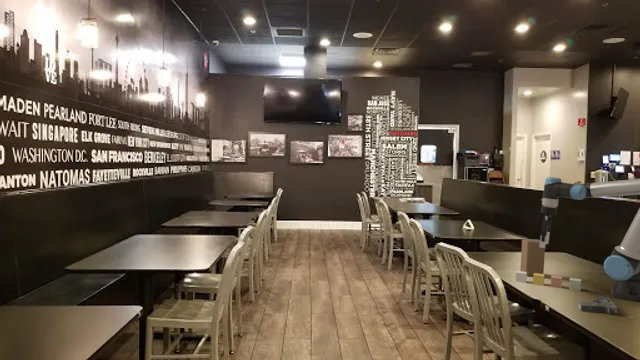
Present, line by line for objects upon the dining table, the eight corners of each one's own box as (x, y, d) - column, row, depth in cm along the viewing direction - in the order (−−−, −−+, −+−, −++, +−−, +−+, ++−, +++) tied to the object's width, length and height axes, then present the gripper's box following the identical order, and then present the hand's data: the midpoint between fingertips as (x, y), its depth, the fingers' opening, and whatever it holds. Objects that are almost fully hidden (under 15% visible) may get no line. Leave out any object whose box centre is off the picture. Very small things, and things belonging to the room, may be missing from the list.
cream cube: (526, 281, 248) (526, 272, 247) (525, 283, 243) (526, 273, 243) (516, 279, 250) (516, 270, 250) (515, 281, 246) (516, 272, 245)
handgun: (572, 300, 216) (609, 304, 211) (580, 312, 197) (621, 317, 192) (573, 292, 216) (609, 295, 211) (581, 304, 197) (621, 308, 192)
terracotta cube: (561, 286, 239) (562, 276, 239) (561, 288, 235) (562, 278, 235) (551, 284, 242) (551, 275, 242) (550, 286, 237) (551, 277, 237)
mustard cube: (543, 283, 244) (544, 274, 243) (543, 285, 239) (543, 276, 239) (533, 282, 246) (534, 273, 246) (532, 284, 242) (533, 274, 241)
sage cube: (580, 288, 235) (580, 279, 235) (580, 291, 231) (580, 281, 231) (569, 287, 238) (569, 277, 238) (569, 289, 233) (569, 279, 233)
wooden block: (537, 273, 268) (539, 239, 267) (544, 277, 258) (545, 242, 257) (519, 272, 269) (521, 238, 268) (525, 276, 259) (527, 241, 258)
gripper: (544, 203, 253) (539, 240, 255) (538, 207, 232) (532, 247, 234) (559, 205, 249) (554, 243, 251) (554, 209, 228) (548, 251, 230)
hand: (543, 245), depth 242 cm, fingers open, 13 cm apart
